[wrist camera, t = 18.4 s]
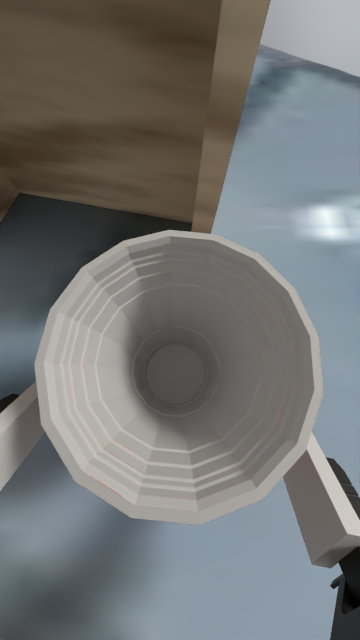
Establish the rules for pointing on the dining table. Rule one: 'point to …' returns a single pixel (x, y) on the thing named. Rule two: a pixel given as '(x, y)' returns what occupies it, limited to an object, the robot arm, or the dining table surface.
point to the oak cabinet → (124, 101)
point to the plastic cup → (179, 377)
